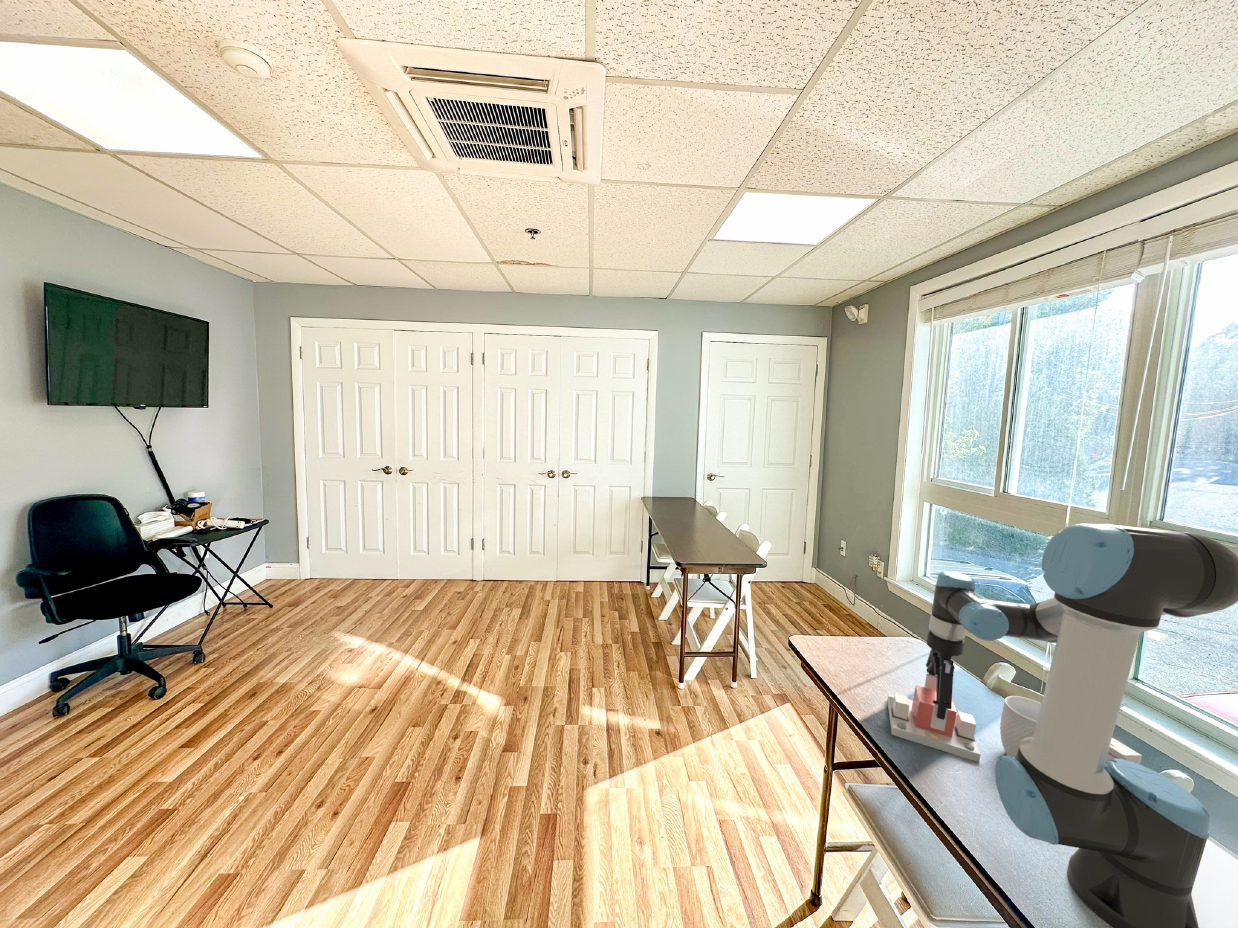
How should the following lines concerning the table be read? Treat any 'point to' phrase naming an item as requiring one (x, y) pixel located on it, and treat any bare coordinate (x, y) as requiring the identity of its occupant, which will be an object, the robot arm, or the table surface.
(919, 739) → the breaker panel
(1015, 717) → the mug
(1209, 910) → the table surface
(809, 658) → the table surface
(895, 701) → the toggle
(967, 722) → the toggle
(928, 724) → the cap
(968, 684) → the table surface
